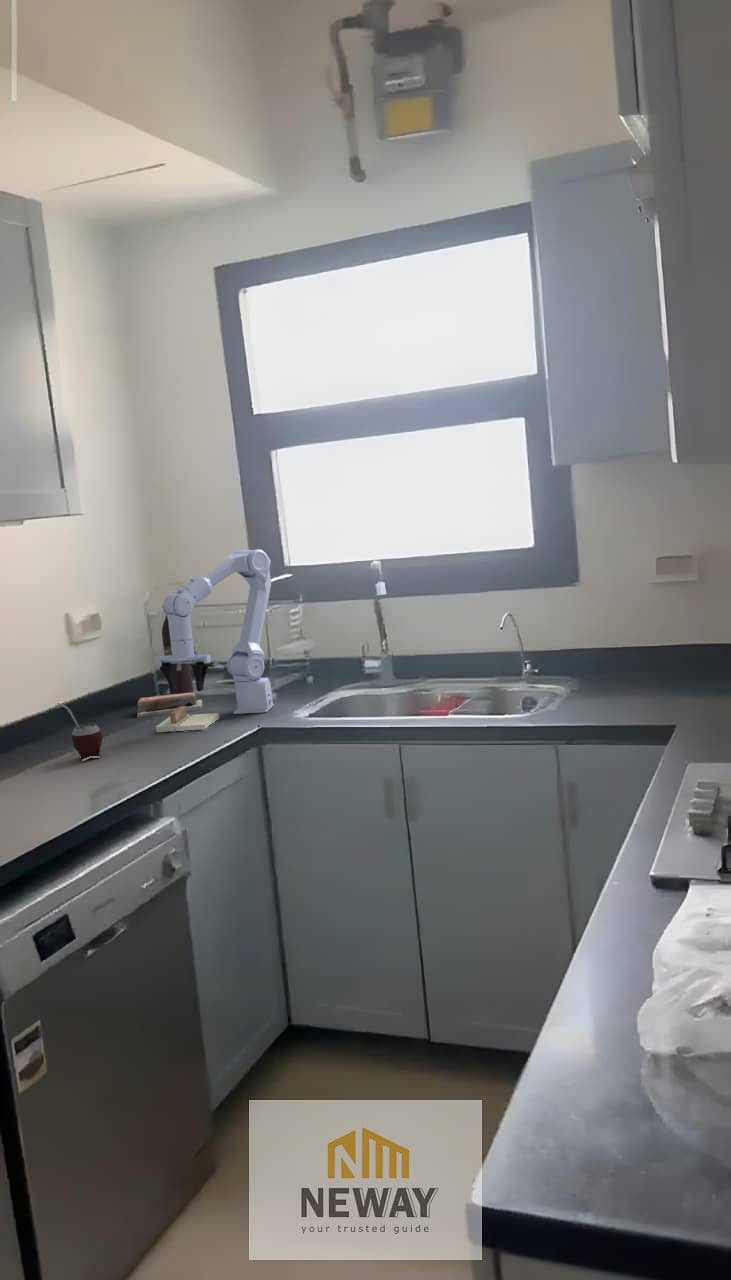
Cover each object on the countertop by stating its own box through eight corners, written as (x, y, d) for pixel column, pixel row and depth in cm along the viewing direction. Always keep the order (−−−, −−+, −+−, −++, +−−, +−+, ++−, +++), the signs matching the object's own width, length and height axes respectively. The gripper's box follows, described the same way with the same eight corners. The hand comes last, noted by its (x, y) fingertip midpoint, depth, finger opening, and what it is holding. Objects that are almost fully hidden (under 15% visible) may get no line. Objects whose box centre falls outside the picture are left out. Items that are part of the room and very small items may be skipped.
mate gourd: (110, 754, 261) (101, 694, 258) (90, 763, 253) (80, 702, 251) (86, 753, 264) (77, 694, 261) (65, 763, 257) (56, 702, 254)
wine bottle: (167, 697, 321) (154, 599, 316) (190, 693, 324) (177, 595, 319) (173, 701, 315) (160, 601, 310) (196, 696, 318) (183, 597, 312)
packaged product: (134, 702, 297) (137, 695, 306) (137, 719, 297) (140, 711, 307) (199, 694, 299) (200, 687, 308) (201, 711, 299) (202, 703, 309)
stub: (189, 719, 288) (187, 704, 287) (174, 731, 276) (172, 715, 275) (172, 720, 289) (170, 705, 288) (156, 732, 277) (154, 716, 276)
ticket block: (219, 718, 286) (218, 712, 286) (205, 730, 275) (204, 724, 274) (191, 720, 288) (190, 714, 288) (175, 731, 276) (175, 725, 276)
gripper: (149, 642, 275) (155, 694, 277) (199, 641, 270) (204, 693, 272) (163, 638, 281) (168, 688, 283) (211, 636, 276) (217, 687, 278)
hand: (187, 690), depth 278 cm, fingers open, 7 cm apart
